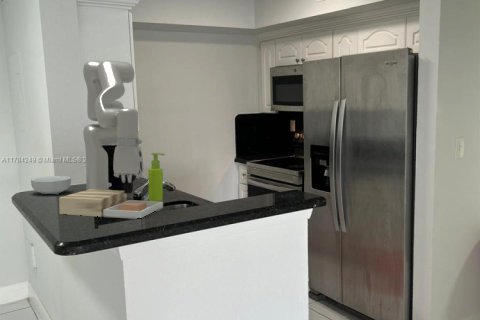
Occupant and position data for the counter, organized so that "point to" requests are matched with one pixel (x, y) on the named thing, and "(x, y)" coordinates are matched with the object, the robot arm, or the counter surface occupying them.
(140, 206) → the terracotta tile
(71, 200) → the birch board
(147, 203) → the box
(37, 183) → the cereal bowl
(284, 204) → the counter surface
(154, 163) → the soap dispenser
